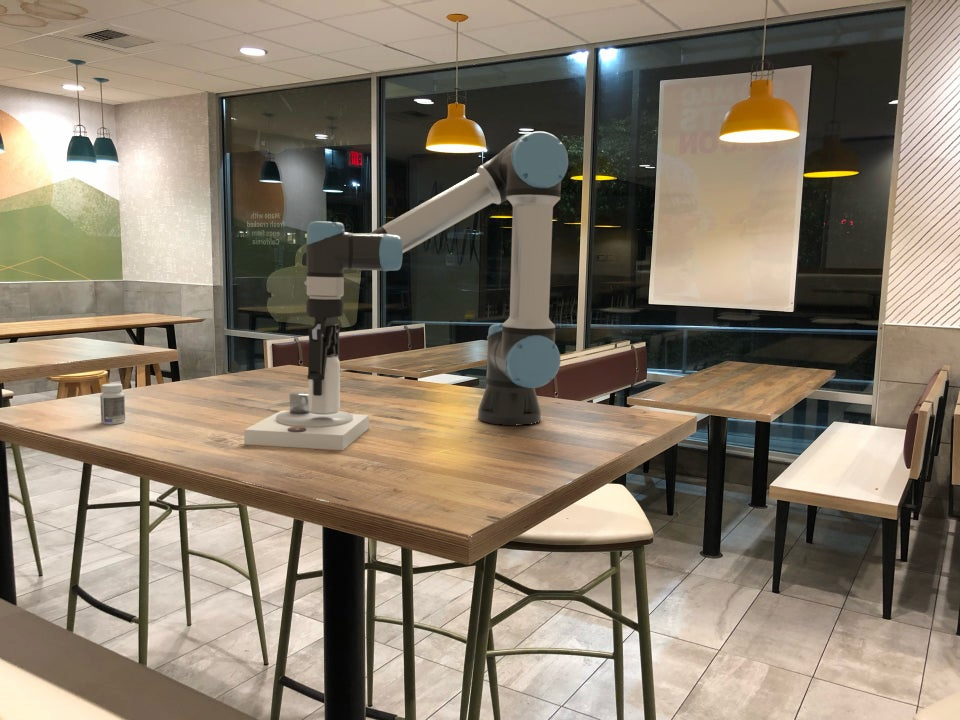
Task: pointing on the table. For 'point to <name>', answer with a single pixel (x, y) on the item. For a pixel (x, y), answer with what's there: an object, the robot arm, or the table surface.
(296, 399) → the cylinder
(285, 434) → the scale
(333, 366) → the can
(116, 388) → the pill bottle
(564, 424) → the table surface
